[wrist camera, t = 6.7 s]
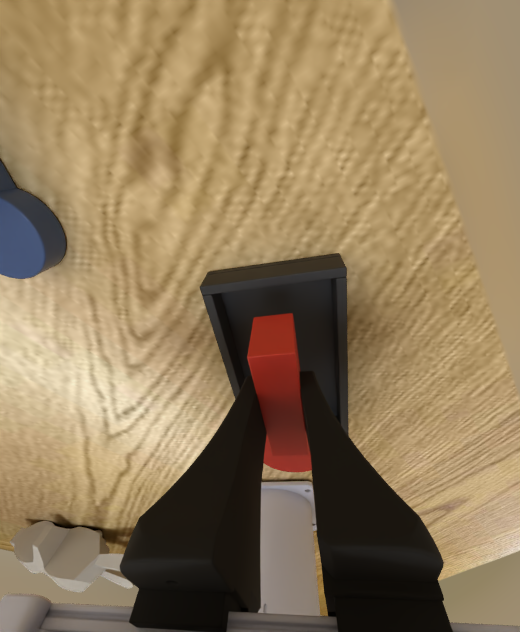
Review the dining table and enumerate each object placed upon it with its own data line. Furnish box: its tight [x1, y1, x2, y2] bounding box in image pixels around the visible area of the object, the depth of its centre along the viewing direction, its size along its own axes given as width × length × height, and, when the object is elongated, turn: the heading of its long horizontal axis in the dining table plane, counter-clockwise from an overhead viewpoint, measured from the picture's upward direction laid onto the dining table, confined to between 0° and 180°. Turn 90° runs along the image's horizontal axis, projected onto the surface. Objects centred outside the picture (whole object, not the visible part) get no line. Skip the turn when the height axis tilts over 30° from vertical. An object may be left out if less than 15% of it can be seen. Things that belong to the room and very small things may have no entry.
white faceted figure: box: [10, 521, 134, 592], centre depth 34 cm, size 10×5×15 cm
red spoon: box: [247, 313, 312, 472], centre depth 14 cm, size 10×4×3 cm, turn 10°
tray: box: [200, 253, 348, 435], centre depth 17 cm, size 13×7×2 cm, turn 10°
